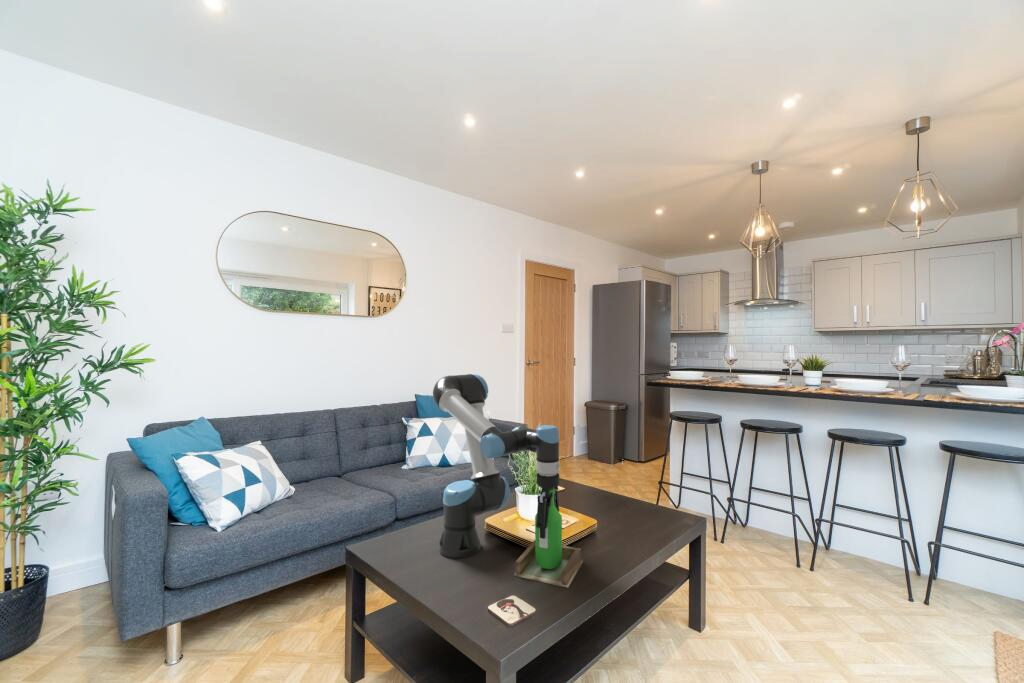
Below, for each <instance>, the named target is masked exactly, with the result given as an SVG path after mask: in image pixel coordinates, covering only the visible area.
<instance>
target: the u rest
mask: <svg viewBox="0 0 1024 683" xmlns="http://www.w3.org/2000/svg"><path fill="white" fill-rule="evenodd" d="M583 562H584V561H583V560H582V549H581V548H578V547H573V546H567V545H563V544H562V564H561V565H560V566H558V567H557V568H554V569H545V568H542V567H540V566H539V565H538V564H537V563H536V556H535V539H534V540H533V541H532V542H531V544H529V546H528V547H527V548H526V549H525V550H524V551H523V553H522V554H520V556H519V557H518V558H517V559H516V561H515V573H514V574H513V576H515V577H519V578H523V579H528V580H532V581H537V582H540V583H545V584H550V585H554V586H558V587H562V588H567V589H568V588H569V587H570V585H571V584H572V582H573V580H574V578H575V576H576V575H577V573H578V571H579V570H580V568H581V566H582V564H583Z"/></svg>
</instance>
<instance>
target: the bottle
mask: <svg viewBox="0 0 1024 683" xmlns="http://www.w3.org/2000/svg"><path fill="white" fill-rule="evenodd" d="M552 492H553V498H552V501H551V506H550V507H549V512H548V520H547V527H548V548H542V547H539V528H537V527H536V524H537V513H536V514H535V517H534V520H535V521H534V523H535V524H534V526H535V529H534V533H535V534H534V538H535V539H534V540H535V556H536V563H537V564H538V565H539V566H540V567H542V568H545V569H554V568H557V567H558V566H560V565H561V564H562V545H563V516H562V514H561V513H560V511H559V512H558V510H557V509H556V507H555V506H554V494H555V491H554V488H551V489H550V491H549V494H550V493H552ZM546 503H547V502H546Z"/></svg>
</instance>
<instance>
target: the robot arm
mask: <svg viewBox="0 0 1024 683" xmlns="http://www.w3.org/2000/svg"><path fill="white" fill-rule="evenodd" d="M488 396H489V386H488V384H487V381H486V380H485V378H483V376H481V375H479V374H472V373H468V374H458V375H447V376H445V375H444V376H443V377H441V378H439V379H438V380H437V382H436V383H435V384H434V387H433V389H432V398H433V401H434V403H435V404H436V407H438V408H439V409H440V410H441V411H442V412H445V413H449V415H450V416H452V418H454V419H455V420H456V422H458V423H459V424H460V425H461V426H462V427H463V428H464V431H465V432H464V433H465V438H466V442H467V446H468V452H469V458H470V462H471V467H472V472H473V473H472V475H471V477H470V480H468V479H467V480H466V479H464V480H457V481H454V482H451V483H450V484H448V485H446V487H444V490H443V498H442V503H443V530H442V532H441V535H440V539H439V543H438V552H439V553H440V554H441V555H442V556H444V557H447V558H452V559H460V558H461V559H463V558H467V557H470V556H474V555H475V554H477V553H478V552H479V551H481V539H480V537H479V536H480V535H479V533H478V532H479V531H478V530H477V529H478V528H477V527H476V526H477V525H476V519H477V518H476V517H478V516H479V515H480V516H481V515H483V514H487V513H490V512H493V511H497V510H498V509H501V508H503V507H505V506H506V505H507V503H508V501H509V498H510V493H511V491H510V485H509V482H508V481H507V479H506V478H505V477H504V476H501V472H500V471H499V470H498V469H496V467H495V463H494V459H495V458H500V457H504V456H508V455H512V454H516V453H517V454H518V453H521V452H532V453H536V470H535V471H536V472H537V473H536V485H537V486H538V487H540V488H541V489H540V490H541V491H540V494H539V495H537V498H536V499H537V508H536V510H537V511H536V514H537V524H536V527H537V528H539V547H542V548H548V527H547V520H548V512H549V507H550V506H551V501H552V498H553V492H552V493H550V494H549V491H550V489H551V488H554V491H555V494H554V506H555V507H556V509H557V510H558V512H559V513H560V503H559V500H560V499H559V485H560V473H559V472H560V467H561V465H562V464H560V439H561V438H560V432H559V430H560V429H559V428H558V426H555V425H552V424H551V425H549V424H543V425H538V426H537V427H536V429H534V428H531V427H530V428H529V427H526V426H516V427H514V428H513V429H511V430H508V431H502V430H500V429H499V428H498V427H497V426H496V425H495V424H494V423H492V422H491V421H490V420H489V419H488V418H487V417H486V416H485V415H484V410H483V408H484V407H485V405H486V400H487V398H488ZM546 502H547V503H546Z"/></svg>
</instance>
